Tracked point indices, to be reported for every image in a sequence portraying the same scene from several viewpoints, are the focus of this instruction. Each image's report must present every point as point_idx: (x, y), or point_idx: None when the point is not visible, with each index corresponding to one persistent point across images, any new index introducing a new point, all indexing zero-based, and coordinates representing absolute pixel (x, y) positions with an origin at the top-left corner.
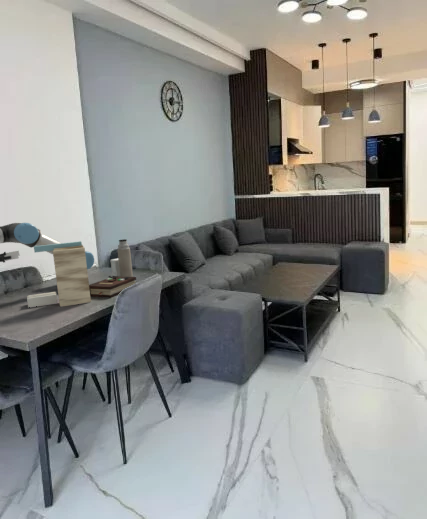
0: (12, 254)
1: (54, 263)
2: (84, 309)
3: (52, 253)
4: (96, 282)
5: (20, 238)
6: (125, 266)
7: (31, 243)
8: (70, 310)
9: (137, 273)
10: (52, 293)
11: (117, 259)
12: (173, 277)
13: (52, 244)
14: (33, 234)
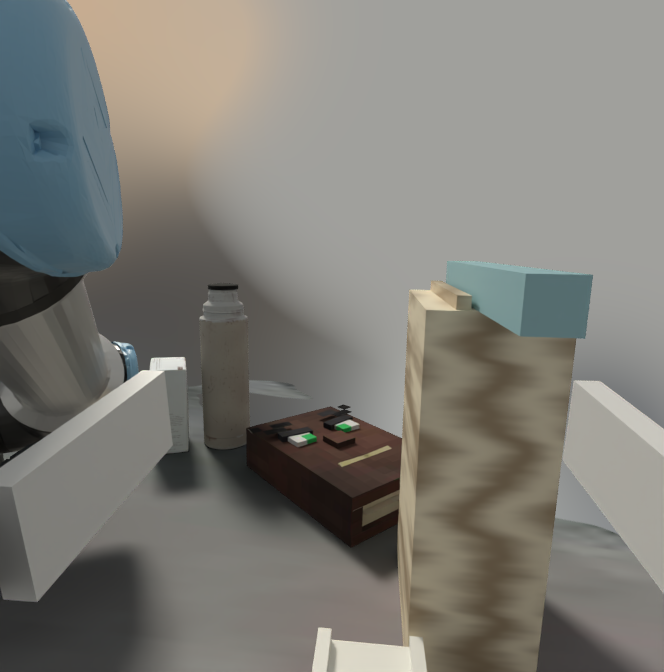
0: (644, 422)
1: (527, 410)
2: (637, 599)
3: (51, 373)
4: (312, 469)
5: (63, 177)
6: (246, 382)
7: (51, 277)
8: (650, 655)
9: None
10: (328, 656)
11: (177, 364)
12: (287, 390)
13: (498, 266)
14: (110, 170)
